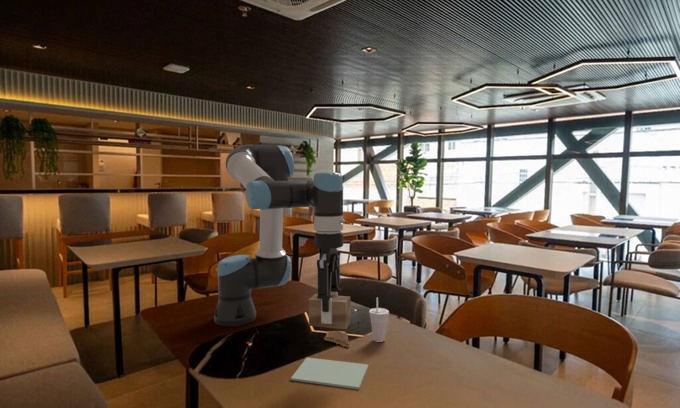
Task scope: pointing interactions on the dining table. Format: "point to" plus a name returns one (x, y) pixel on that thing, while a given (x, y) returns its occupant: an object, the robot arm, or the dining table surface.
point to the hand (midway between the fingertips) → (329, 319)
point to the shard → (337, 337)
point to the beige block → (339, 312)
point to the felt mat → (331, 373)
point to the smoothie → (378, 322)
